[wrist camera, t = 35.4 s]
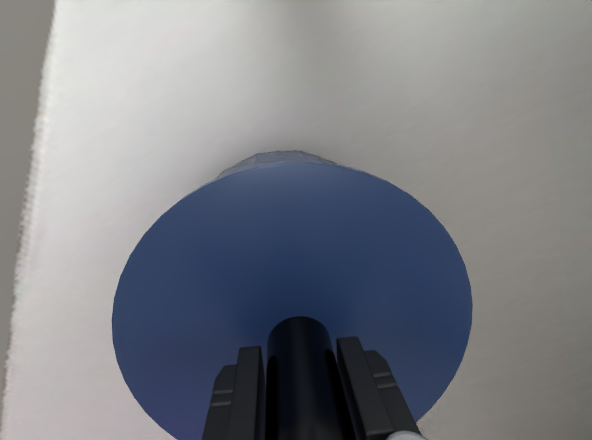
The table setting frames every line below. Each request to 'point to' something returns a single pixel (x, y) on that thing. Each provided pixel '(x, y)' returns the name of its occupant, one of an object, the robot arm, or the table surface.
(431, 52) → the table surface
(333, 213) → the lid
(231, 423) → the robot arm
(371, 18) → the table surface
